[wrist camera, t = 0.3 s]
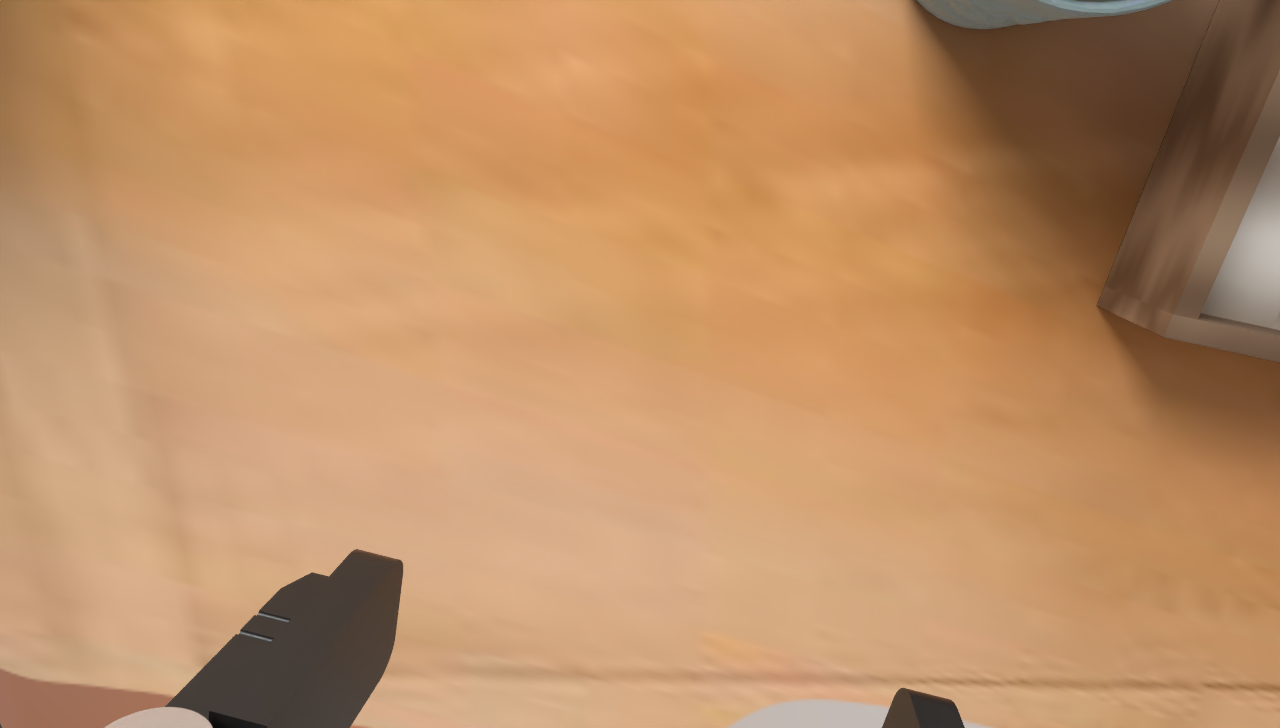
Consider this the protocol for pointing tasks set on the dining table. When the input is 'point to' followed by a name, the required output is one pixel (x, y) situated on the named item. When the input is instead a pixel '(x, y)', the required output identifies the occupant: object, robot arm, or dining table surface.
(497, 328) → the dining table surface
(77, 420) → the dining table surface
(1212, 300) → the brown wooden shallow tray
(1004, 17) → the blue-grey cup
